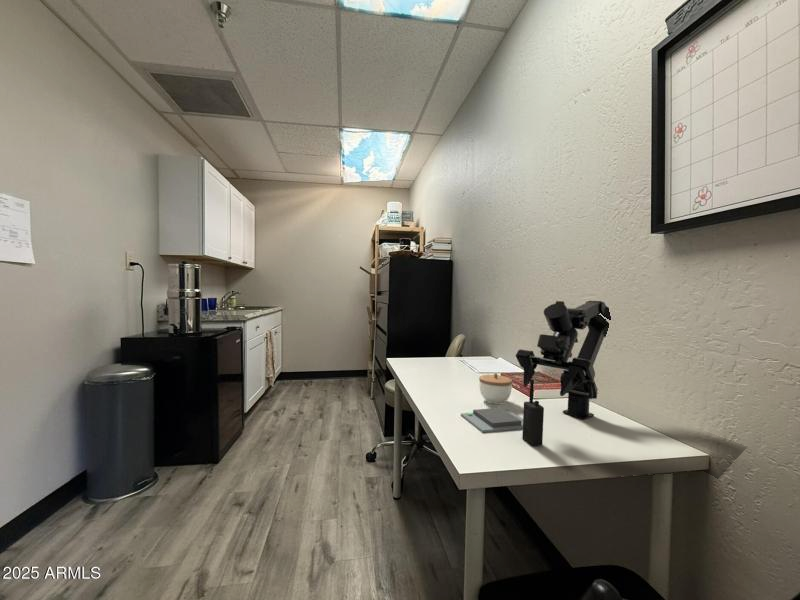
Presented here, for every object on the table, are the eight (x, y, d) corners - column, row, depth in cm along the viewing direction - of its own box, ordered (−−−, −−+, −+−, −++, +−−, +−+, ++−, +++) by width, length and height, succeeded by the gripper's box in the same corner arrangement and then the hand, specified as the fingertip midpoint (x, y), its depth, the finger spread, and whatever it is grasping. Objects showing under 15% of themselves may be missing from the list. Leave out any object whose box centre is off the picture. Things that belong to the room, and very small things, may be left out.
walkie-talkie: (543, 446, 77) (546, 383, 76) (530, 446, 76) (533, 383, 76) (532, 437, 81) (534, 378, 81) (519, 437, 81) (522, 378, 81)
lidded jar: (513, 408, 103) (514, 378, 102) (478, 404, 105) (480, 376, 105) (509, 398, 113) (510, 371, 113) (477, 395, 115) (478, 368, 115)
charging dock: (507, 411, 99) (508, 405, 99) (534, 427, 88) (534, 421, 88) (460, 415, 95) (460, 409, 95) (482, 432, 83) (482, 425, 83)
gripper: (520, 320, 92) (497, 363, 85) (593, 327, 78) (574, 379, 71) (531, 346, 97) (511, 388, 90) (602, 356, 84) (585, 407, 76)
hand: (542, 390), depth 82 cm, fingers open, 9 cm apart
